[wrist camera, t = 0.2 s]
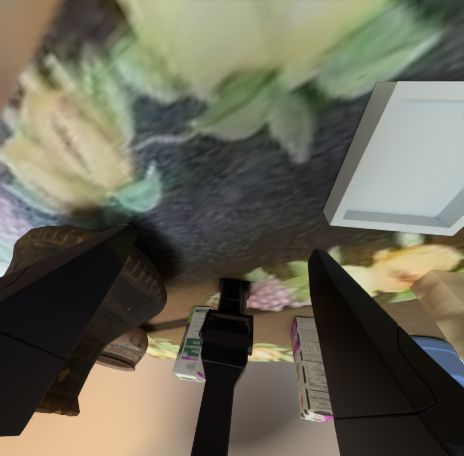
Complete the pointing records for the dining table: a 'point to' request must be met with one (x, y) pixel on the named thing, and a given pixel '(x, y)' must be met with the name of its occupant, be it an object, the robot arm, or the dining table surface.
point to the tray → (405, 162)
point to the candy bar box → (310, 371)
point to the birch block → (444, 303)
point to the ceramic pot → (106, 317)
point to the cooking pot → (125, 350)
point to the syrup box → (191, 349)
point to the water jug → (443, 356)
